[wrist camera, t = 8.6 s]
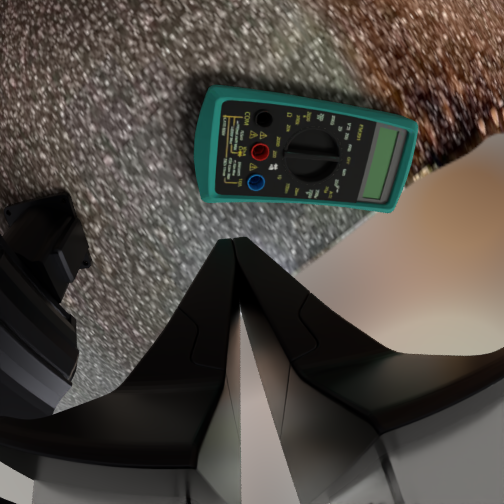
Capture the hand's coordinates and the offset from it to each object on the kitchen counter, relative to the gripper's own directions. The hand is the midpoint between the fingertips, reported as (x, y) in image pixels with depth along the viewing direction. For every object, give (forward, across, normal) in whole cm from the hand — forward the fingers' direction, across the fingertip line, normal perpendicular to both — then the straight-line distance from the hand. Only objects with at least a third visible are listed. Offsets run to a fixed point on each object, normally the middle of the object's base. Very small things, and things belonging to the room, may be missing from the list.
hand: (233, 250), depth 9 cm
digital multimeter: (+13, -6, +1) cm, 14 cm away
